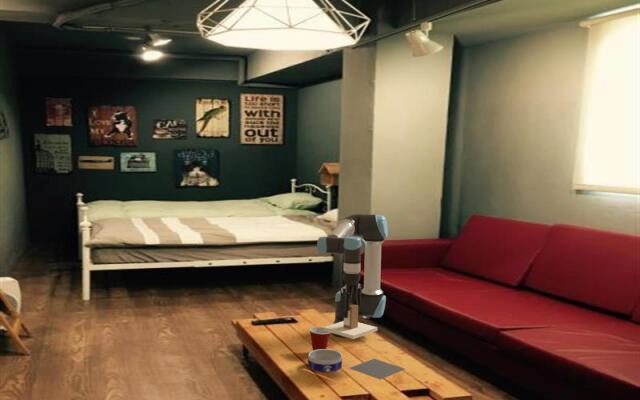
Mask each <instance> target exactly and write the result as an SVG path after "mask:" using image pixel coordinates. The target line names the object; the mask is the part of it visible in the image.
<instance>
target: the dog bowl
mask: <svg viewBox="0 0 640 400" xmlns="http://www.w3.org/2000/svg"><path fill="white" fill-rule="evenodd" d="M307 358H308V359H307V361H308V362H307V363H308V364H307V365H308V366H307V367H308V368H309V370H312V371H315V372H319V373H333V372H337V371H339V370H341V369H342V365H343V354H342V353H341V352H340V351H338V350H336V349H335V350H334V349H329V348H326V349H319V350H314V351H313V350H312V351H310V352H309V353H308V355H307Z"/></svg>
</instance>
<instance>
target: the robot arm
mask: <svg viewBox="0 0 640 400" xmlns="http://www.w3.org/2000/svg"><path fill="white" fill-rule="evenodd" d="M388 232H389V229H388V222H387V218H386V217H385V216H384V215H380V214H364V213H363V214H362V213H354V214H350V215H347V216H345V217H343V218H341V220H339V221H338V223H337V225H336V227H335V228H334V229H333V230H332V231H331V232H330V233H329V234H328V235H327V236H319V237H318V239H317V241H316V242H317V245H316V248H317V252H318V253H322V254H334V255H343V272H342V273H343V274H342V281H343V282H344V283H343V287H339V291H337V292H336V294H335V299H334V302H335V303H334V304H335V305H334V309H335V311H334V321H333V323H332V324H336V323H339V322H342V321H344V325H348V326H349V325H350V311H349V306H350V303H351V304H355V305H358V317H367V318H382V316H383V315H384V311H385V309H386V301H387V296H386V295H384V291H383V290H382V289H381V275H382V274H381V273H382V271H381V268H382V263H381V262H382V244H383V243H384V242H385V239H386V238H388ZM362 254H364V269H363V270H364V271H363V276H364V277H363V284H362V283H360V281H361V273H360V272H361V267H362V265H361V259H362V258H361V257H362V256H361V255H362ZM331 335H333V336H334V337H338V338H347V339H349V338H348V337H344V336H341V335H337V334H334V333H331Z"/></svg>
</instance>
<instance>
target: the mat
mask: <svg viewBox="0 0 640 400" xmlns="http://www.w3.org/2000/svg"><path fill="white" fill-rule="evenodd" d="M349 369H350V370H353V371H355V372H358V373H361V374H365V375H367V376H370V377H372V378H375V379H378V380H383V379H385V378H387V377H390V376H392V375H394V374H397V373H400V372H402V371H404V370H406V368H404V367H401V366H398V365H395V364H392V363H389V362H385V361H383V360H380V359H377V358H372V359H369V360H366V361H363V362H361V363H359V364H356V365H353V366H351V367H349Z"/></svg>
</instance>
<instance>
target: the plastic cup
mask: <svg viewBox="0 0 640 400" xmlns="http://www.w3.org/2000/svg"><path fill="white" fill-rule="evenodd" d="M308 330H309V334H310V340H311V348H312V351H314V350H319V349H328V348H327V347H328V342H329V338H330V334H332V333H331V332H327V331H324V326H323V327H321V326H313V327H310V328H309V329H308Z"/></svg>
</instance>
